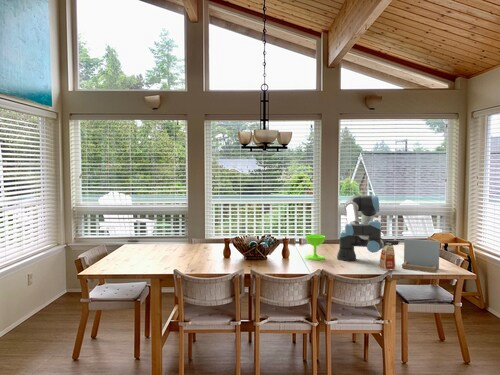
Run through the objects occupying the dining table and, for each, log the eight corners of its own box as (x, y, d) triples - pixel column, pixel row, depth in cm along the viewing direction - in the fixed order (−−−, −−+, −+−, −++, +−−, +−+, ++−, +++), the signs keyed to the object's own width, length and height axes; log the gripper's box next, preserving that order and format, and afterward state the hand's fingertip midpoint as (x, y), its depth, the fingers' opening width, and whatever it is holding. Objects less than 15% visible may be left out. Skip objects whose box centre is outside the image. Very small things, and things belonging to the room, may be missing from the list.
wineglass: (311, 260, 306) (311, 238, 306) (301, 256, 321) (301, 235, 321) (328, 259, 312) (329, 237, 312) (318, 255, 327) (318, 234, 327)
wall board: (400, 268, 285) (401, 241, 284) (404, 264, 297) (404, 238, 297) (436, 272, 272) (437, 244, 271) (438, 268, 285) (439, 241, 284)
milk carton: (385, 270, 278) (385, 242, 277) (378, 267, 287) (379, 240, 286) (396, 270, 279) (397, 242, 279) (389, 267, 288) (390, 240, 288)
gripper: (359, 247, 262) (367, 243, 280) (398, 251, 249) (404, 247, 267) (359, 236, 262) (367, 233, 280) (398, 240, 249) (404, 236, 267)
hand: (385, 240), depth 273 cm, fingers open, 13 cm apart
